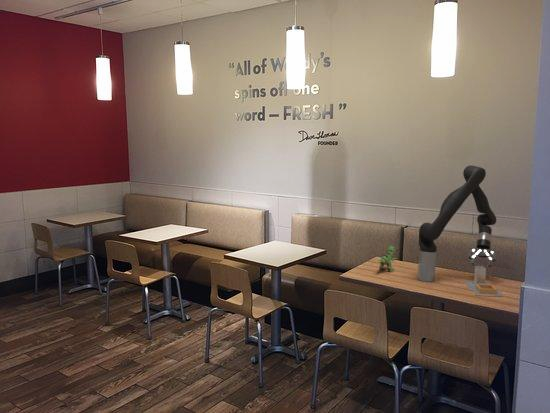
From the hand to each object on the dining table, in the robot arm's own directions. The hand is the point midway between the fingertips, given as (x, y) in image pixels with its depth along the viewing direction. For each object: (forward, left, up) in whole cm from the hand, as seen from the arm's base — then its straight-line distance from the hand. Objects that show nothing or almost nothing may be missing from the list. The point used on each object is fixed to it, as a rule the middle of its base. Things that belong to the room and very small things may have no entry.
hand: (481, 265), depth 279 cm
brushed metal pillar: (-2, -5, -10) cm, 11 cm away
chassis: (-2, -12, -11) cm, 16 cm away
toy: (-50, +18, -11) cm, 54 cm away
